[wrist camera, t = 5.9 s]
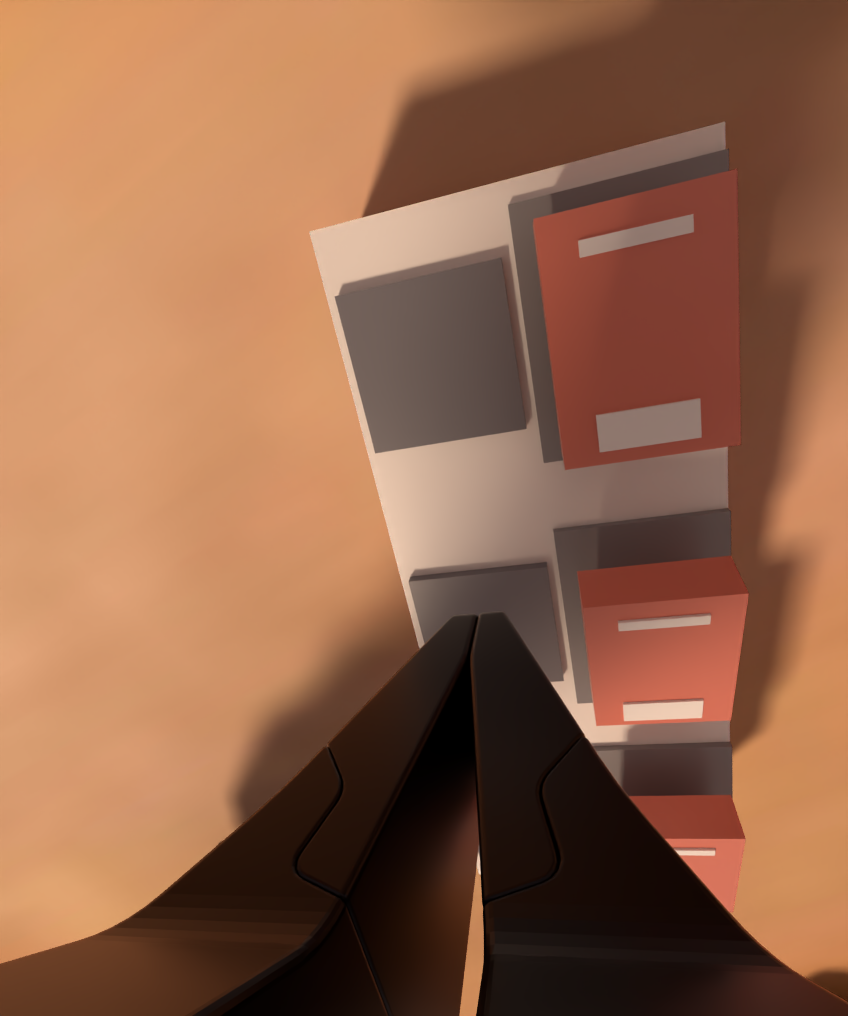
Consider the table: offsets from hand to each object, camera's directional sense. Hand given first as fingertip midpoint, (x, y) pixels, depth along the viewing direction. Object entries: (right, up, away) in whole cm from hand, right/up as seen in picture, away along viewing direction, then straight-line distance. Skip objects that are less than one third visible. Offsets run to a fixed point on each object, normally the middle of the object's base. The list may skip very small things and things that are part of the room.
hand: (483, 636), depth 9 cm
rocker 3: (+3, +6, +2) cm, 7 cm away
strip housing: (+4, -2, +12) cm, 13 cm away
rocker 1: (+7, -9, +8) cm, 14 cm away
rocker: (+5, -2, +5) cm, 8 cm away
